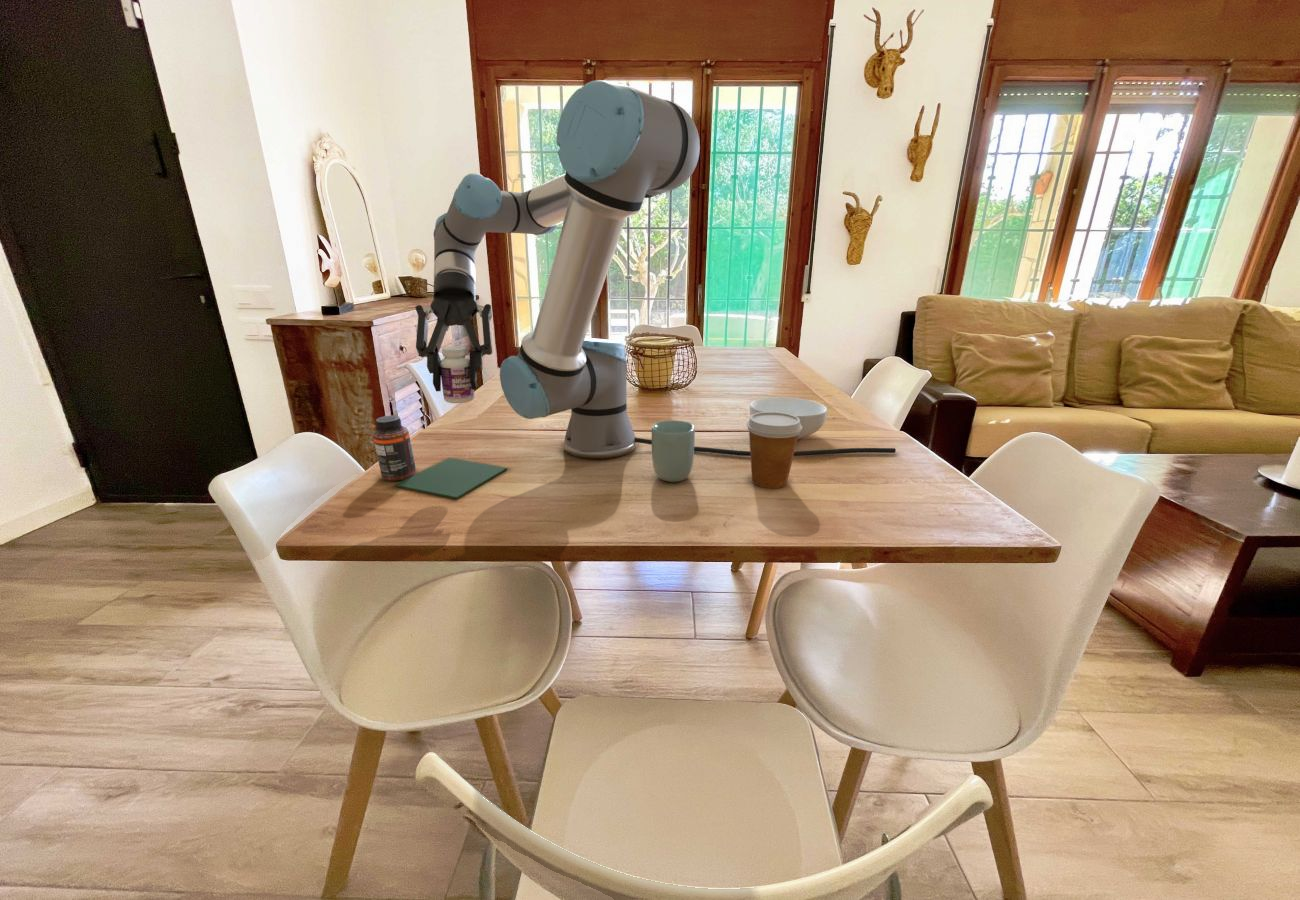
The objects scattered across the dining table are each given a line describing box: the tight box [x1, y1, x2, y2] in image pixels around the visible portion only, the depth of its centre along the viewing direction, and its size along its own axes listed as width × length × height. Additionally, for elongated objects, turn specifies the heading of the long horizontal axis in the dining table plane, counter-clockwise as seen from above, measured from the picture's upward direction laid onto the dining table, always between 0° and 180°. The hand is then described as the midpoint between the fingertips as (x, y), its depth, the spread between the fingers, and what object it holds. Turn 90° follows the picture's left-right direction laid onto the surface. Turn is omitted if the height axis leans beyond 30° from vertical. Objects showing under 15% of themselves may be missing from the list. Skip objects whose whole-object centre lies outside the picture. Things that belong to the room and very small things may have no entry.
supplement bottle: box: [372, 414, 417, 482], centre depth 95 cm, size 6×6×11 cm
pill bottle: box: [440, 345, 475, 404], centre depth 93 cm, size 5×5×10 cm
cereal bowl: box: [749, 396, 828, 440], centre depth 118 cm, size 17×17×7 cm
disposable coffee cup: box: [746, 412, 802, 489], centre depth 92 cm, size 10×10×12 cm
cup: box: [651, 419, 696, 483], centre depth 94 cm, size 8×8×10 cm
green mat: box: [393, 457, 508, 500], centre depth 96 cm, size 14×14×1 cm
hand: (455, 386), depth 90 cm, fingers closed on pill bottle, 5 cm apart
